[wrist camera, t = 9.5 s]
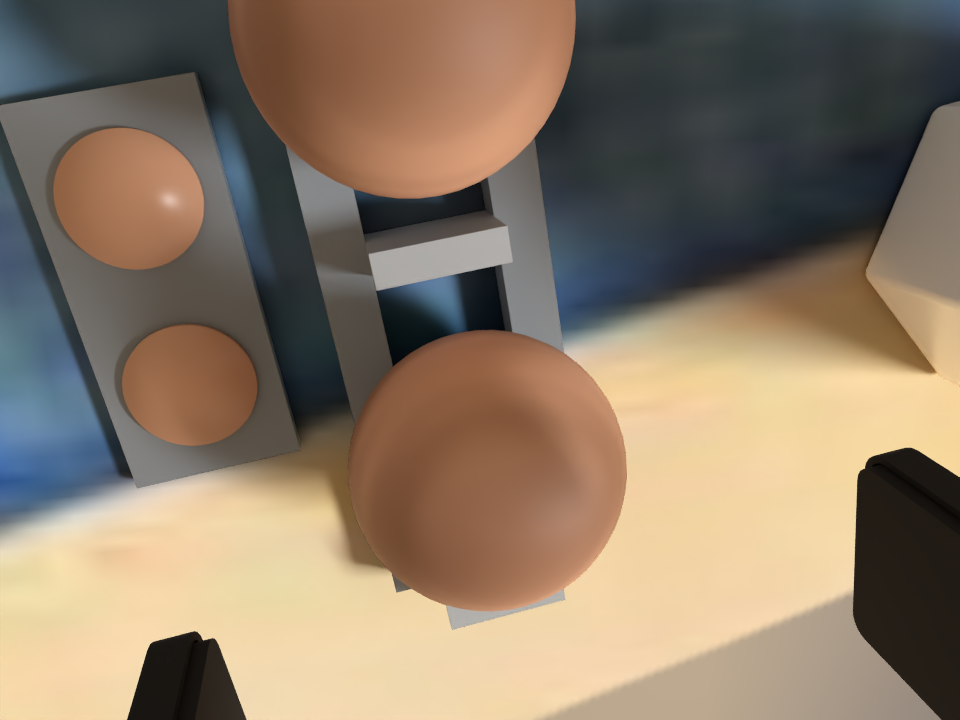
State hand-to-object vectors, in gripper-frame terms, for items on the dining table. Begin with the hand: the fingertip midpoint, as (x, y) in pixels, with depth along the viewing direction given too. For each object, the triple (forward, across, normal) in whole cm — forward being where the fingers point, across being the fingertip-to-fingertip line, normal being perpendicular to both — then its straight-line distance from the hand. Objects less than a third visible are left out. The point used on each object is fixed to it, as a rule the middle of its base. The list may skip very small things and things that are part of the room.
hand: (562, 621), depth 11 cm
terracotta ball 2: (+9, 0, +1) cm, 9 cm away
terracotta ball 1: (+9, 0, -8) cm, 12 cm away
